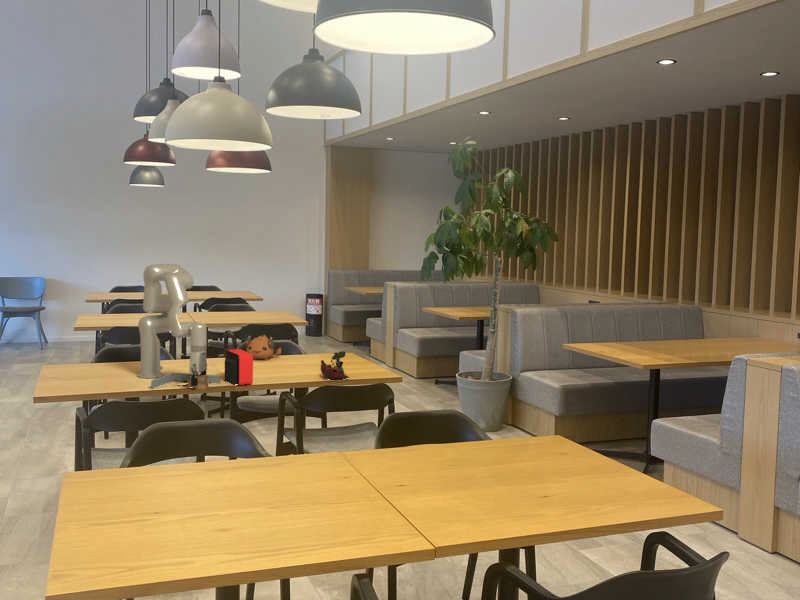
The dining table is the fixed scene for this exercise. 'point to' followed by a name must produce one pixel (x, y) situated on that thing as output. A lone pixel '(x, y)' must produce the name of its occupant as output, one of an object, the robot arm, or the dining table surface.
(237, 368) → the red black block
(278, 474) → the dining table surface
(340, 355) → the multicoloured piece
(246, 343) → the toy
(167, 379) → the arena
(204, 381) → the walnut block
